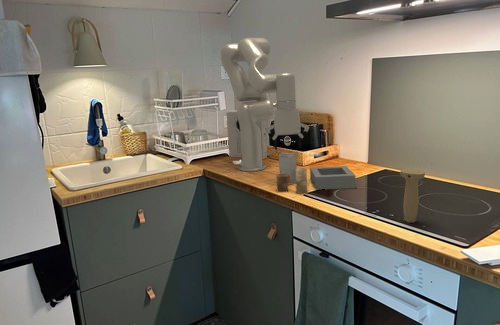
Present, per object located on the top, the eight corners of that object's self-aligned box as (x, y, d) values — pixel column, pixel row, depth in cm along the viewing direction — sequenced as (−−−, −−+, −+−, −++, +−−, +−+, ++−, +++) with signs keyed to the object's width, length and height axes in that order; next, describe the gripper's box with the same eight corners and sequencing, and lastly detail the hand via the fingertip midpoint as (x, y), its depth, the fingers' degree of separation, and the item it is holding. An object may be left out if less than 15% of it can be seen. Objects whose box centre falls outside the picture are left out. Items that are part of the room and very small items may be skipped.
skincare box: (279, 182, 156) (278, 154, 153) (285, 180, 159) (284, 152, 156) (291, 185, 152) (290, 155, 149) (297, 182, 155) (296, 153, 152)
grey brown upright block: (297, 194, 141) (296, 170, 138) (295, 190, 144) (295, 168, 142) (307, 193, 140) (307, 170, 138) (306, 190, 144) (306, 167, 142)
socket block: (315, 189, 144) (315, 177, 143) (310, 179, 159) (310, 167, 158) (355, 188, 144) (355, 175, 143) (346, 177, 158) (346, 165, 157)
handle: (402, 216, 115) (404, 168, 111) (424, 220, 111) (427, 171, 107) (395, 221, 111) (397, 172, 108) (418, 226, 107) (421, 175, 104)
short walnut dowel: (277, 192, 144) (277, 176, 143) (277, 188, 148) (276, 174, 147) (288, 191, 144) (287, 176, 143) (287, 188, 148) (286, 173, 147)
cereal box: (270, 156, 205) (268, 110, 200) (263, 159, 199) (261, 111, 193) (236, 153, 216) (233, 110, 210) (229, 156, 210) (226, 111, 204)
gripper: (264, 107, 145) (266, 151, 148) (309, 104, 144) (311, 148, 148) (264, 106, 152) (266, 148, 156) (307, 103, 152) (308, 145, 155)
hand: (288, 148), depth 152 cm, fingers open, 9 cm apart
